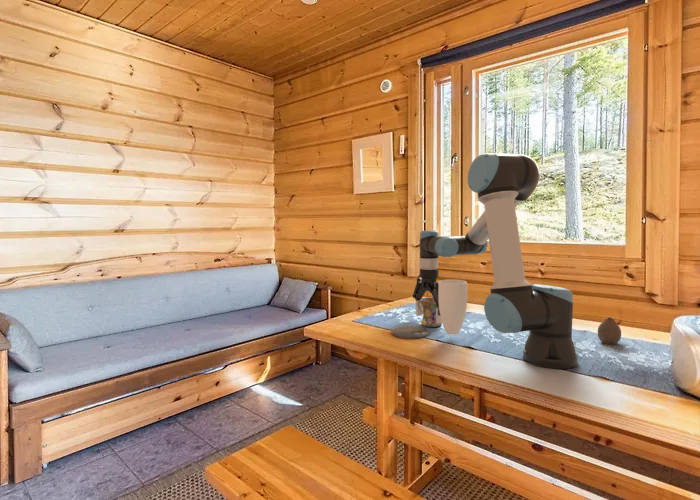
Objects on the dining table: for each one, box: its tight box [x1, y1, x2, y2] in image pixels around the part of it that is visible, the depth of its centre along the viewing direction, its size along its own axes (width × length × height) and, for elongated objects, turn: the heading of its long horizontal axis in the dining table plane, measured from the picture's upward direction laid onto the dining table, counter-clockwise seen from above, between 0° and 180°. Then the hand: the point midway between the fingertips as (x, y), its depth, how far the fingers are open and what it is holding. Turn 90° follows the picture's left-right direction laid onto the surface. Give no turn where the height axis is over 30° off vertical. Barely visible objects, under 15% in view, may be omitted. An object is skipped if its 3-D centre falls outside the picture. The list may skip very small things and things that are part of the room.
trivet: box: [391, 325, 429, 340], centre depth 156 cm, size 14×14×1 cm
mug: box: [418, 297, 443, 328], centre depth 168 cm, size 12×9×11 cm
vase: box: [597, 317, 622, 346], centre depth 140 cm, size 7×7×9 cm
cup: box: [438, 278, 468, 335], centre depth 146 cm, size 10×10×22 cm
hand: (428, 319), depth 168 cm, fingers open, 13 cm apart
